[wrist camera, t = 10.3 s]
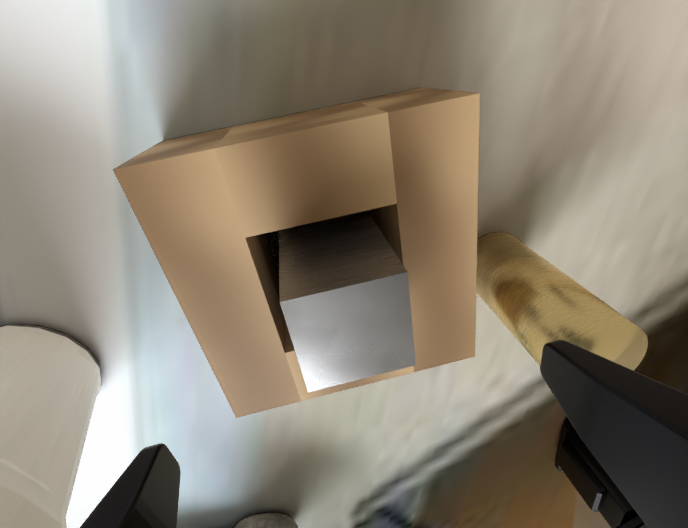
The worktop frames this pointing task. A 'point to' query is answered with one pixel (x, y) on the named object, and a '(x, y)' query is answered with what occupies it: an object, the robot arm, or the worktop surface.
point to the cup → (42, 422)
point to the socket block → (307, 207)
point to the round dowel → (550, 304)
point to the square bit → (344, 300)
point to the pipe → (267, 521)
